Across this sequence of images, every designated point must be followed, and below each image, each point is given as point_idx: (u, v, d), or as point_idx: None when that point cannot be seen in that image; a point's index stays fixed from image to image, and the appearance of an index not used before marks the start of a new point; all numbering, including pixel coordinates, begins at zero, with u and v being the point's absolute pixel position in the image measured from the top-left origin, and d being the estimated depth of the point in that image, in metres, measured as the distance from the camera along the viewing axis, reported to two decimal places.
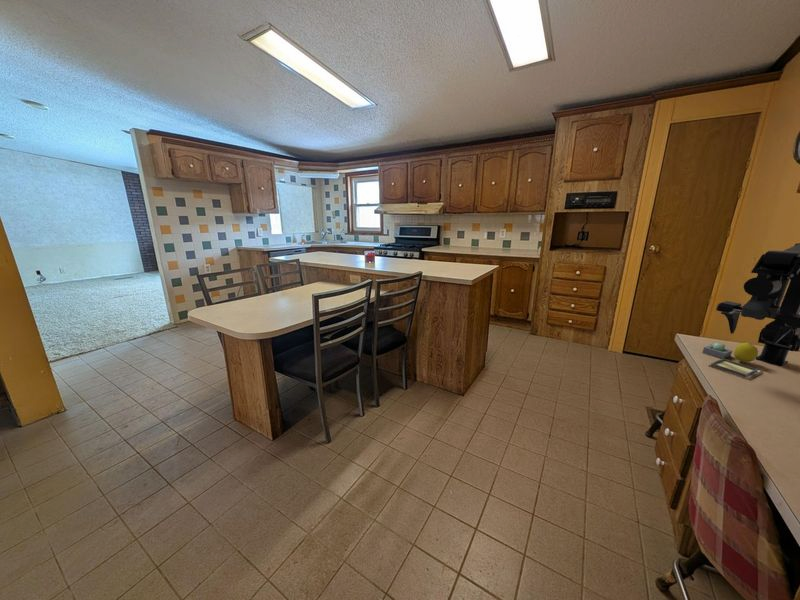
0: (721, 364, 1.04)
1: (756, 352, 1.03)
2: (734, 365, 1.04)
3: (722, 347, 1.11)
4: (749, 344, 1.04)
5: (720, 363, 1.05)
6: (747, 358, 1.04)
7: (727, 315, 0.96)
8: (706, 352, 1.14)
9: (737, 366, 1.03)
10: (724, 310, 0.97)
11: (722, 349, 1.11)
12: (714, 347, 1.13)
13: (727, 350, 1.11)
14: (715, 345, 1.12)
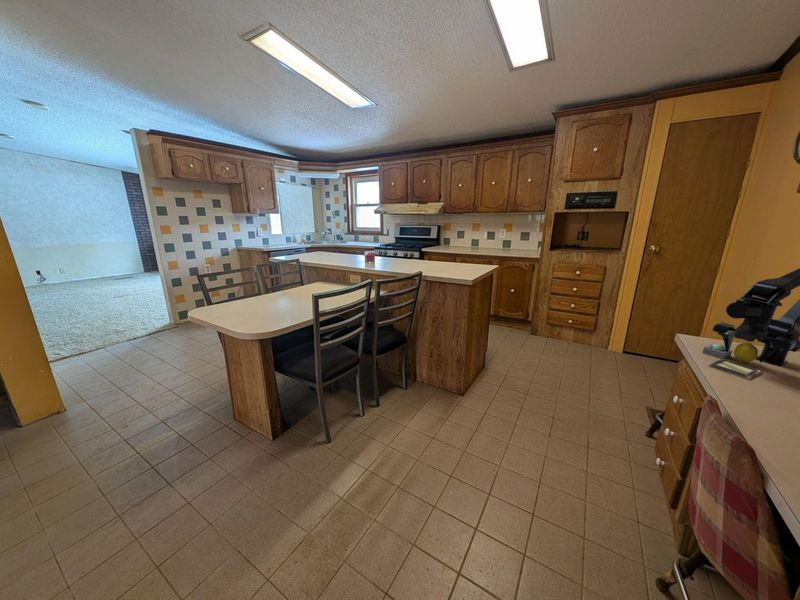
0: (721, 364, 1.04)
1: (756, 352, 1.03)
2: (734, 365, 1.04)
3: (722, 348, 1.11)
4: (749, 344, 1.04)
5: (720, 363, 1.05)
6: (747, 358, 1.04)
7: (723, 336, 1.09)
8: (706, 352, 1.14)
9: (737, 366, 1.03)
10: (719, 331, 1.09)
11: (722, 350, 1.11)
12: (714, 348, 1.13)
13: None
14: (715, 346, 1.12)
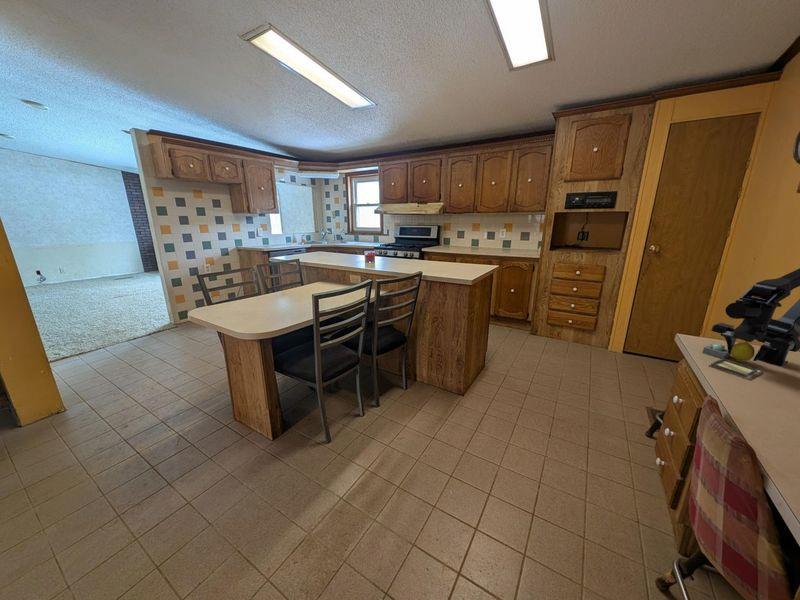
0: (721, 364, 1.04)
1: (752, 351, 1.04)
2: (734, 365, 1.04)
3: (722, 348, 1.11)
4: (746, 343, 1.05)
5: (720, 363, 1.05)
6: (744, 357, 1.05)
7: (726, 337, 1.08)
8: (706, 352, 1.14)
9: (737, 366, 1.03)
10: (718, 331, 1.10)
11: (722, 350, 1.11)
12: (714, 348, 1.13)
13: (727, 350, 1.11)
14: (715, 346, 1.12)
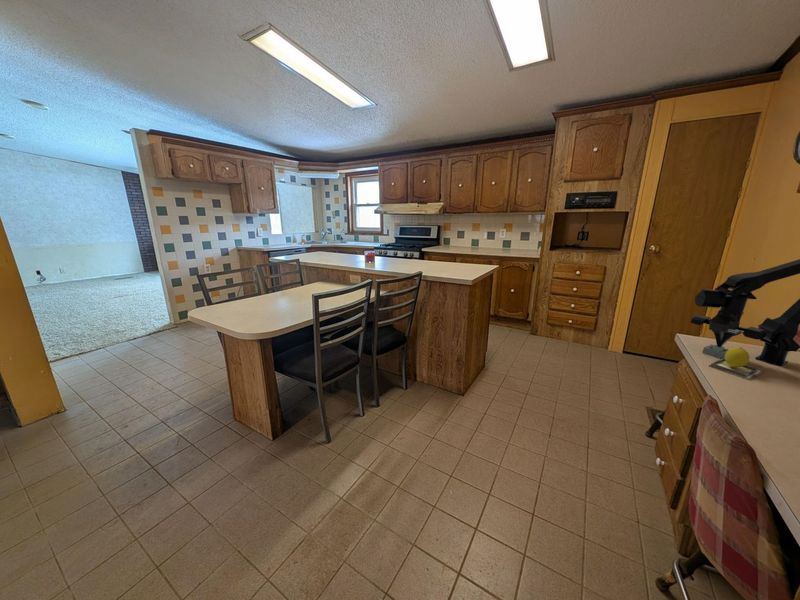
0: (721, 364, 1.04)
1: (747, 357, 0.98)
2: None
3: (721, 349, 1.11)
4: (740, 348, 1.00)
5: (720, 363, 1.05)
6: (738, 363, 0.99)
7: (714, 331, 1.11)
8: (706, 352, 1.14)
9: None
10: (696, 323, 1.15)
11: (721, 351, 1.11)
12: None
13: (727, 350, 1.11)
14: (714, 347, 1.12)
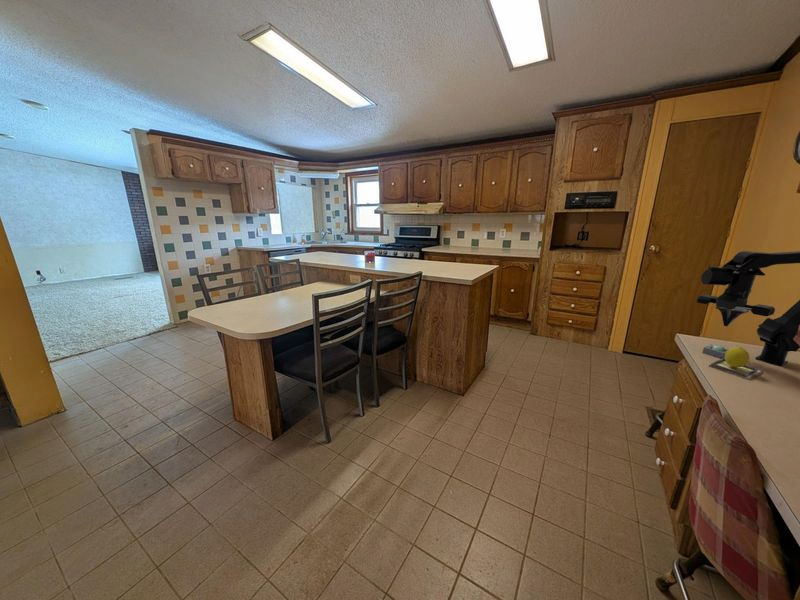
0: (721, 364, 1.04)
1: (747, 357, 0.98)
2: None
3: (721, 350, 1.11)
4: (740, 348, 1.00)
5: (720, 363, 1.05)
6: (738, 363, 0.99)
7: (721, 309, 1.09)
8: (706, 352, 1.14)
9: None
10: (703, 302, 1.13)
11: None
12: None
13: (727, 350, 1.11)
14: (714, 347, 1.13)
